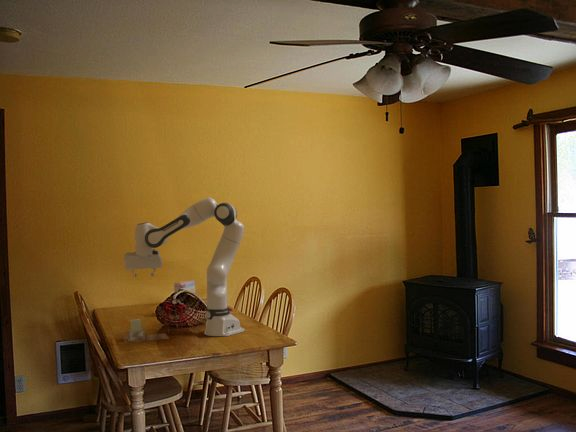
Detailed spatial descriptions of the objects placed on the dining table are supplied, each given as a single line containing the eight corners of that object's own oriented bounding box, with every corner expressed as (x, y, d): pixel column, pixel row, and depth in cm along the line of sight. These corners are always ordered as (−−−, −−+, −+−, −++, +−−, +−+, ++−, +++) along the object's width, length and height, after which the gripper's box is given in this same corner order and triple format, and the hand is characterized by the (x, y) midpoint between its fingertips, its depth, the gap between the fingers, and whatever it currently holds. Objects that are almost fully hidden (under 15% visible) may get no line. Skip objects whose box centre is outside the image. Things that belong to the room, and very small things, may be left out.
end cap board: (165, 336, 292) (165, 325, 292) (169, 341, 281) (169, 330, 280) (123, 340, 283) (122, 329, 283) (125, 345, 272) (125, 335, 272)
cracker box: (188, 311, 357) (188, 279, 356) (195, 312, 354) (195, 280, 353) (174, 315, 345) (173, 282, 344) (181, 316, 342) (180, 283, 341)
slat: (140, 338, 282) (140, 318, 282) (141, 338, 280) (141, 319, 280) (131, 339, 280) (130, 319, 280) (131, 339, 278) (131, 320, 278)
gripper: (124, 253, 292) (124, 278, 292) (162, 251, 300) (163, 276, 300) (123, 252, 298) (123, 277, 298) (160, 250, 305) (161, 274, 306)
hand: (143, 276), depth 299 cm, fingers open, 8 cm apart
